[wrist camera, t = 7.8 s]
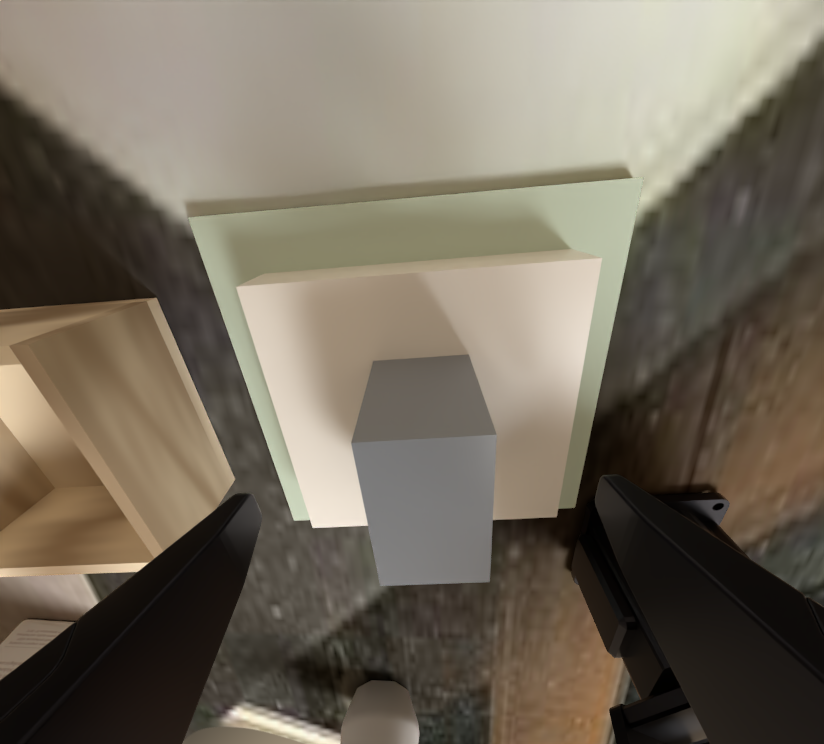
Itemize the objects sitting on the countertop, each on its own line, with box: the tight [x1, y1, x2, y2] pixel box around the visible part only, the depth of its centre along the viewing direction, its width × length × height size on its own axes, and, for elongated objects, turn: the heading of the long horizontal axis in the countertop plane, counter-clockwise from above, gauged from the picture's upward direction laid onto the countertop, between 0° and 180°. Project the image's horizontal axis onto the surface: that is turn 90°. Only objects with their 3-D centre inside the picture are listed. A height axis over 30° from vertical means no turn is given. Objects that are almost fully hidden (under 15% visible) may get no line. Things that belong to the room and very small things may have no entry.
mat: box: [188, 177, 644, 521], centre depth 13 cm, size 14×14×1 cm
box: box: [0, 298, 235, 577], centre depth 12 cm, size 9×9×4 cm
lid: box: [236, 249, 602, 586], centre depth 11 cm, size 10×10×6 cm
